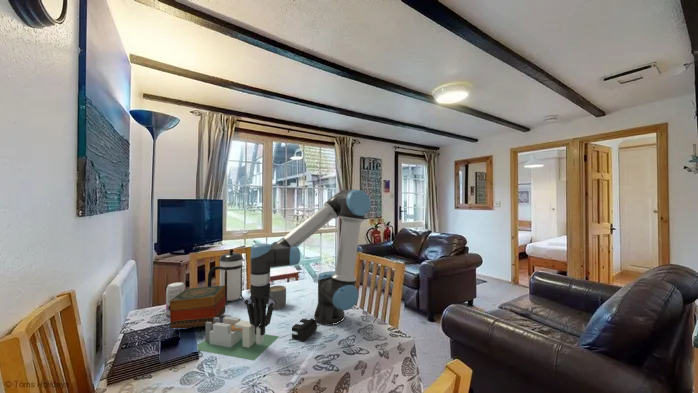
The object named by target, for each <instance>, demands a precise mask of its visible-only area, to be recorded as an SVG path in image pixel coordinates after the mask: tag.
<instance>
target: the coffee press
mask: <svg viewBox="0 0 698 393" xmlns="http://www.w3.org/2000/svg"><path fill="white" fill-rule="evenodd" d="M228 251H229V252H227V253H224V254H222V255H221V256H220V258H219V259H218V260H219V266H213V267H211V269H209V271H208V272H207V287H212V276H213V275H212V274H213V273H214V272H215V271H217V270H219V286H225V306H227V304H228V302H232V301H236V300H239V301H241V302H243V300H244V301H245V298H244V296H243V266H244V264H243V262H245V259H244V257H243V255H242V254H241V253H240V252H234V249H233V248H230V249H229V250H228Z"/></svg>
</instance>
